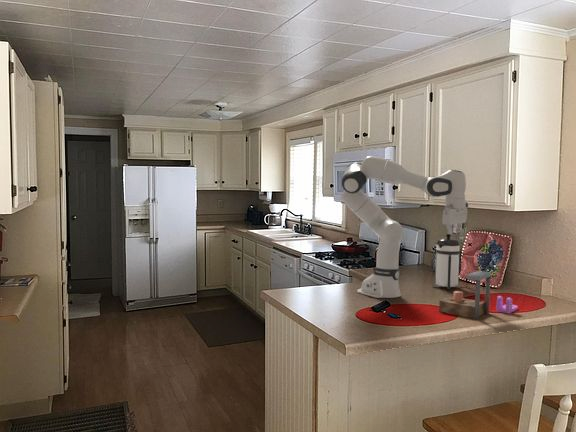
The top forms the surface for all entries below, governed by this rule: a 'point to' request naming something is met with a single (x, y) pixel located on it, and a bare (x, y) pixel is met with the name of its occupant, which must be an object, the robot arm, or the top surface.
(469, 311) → the socket block
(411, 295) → the top surface
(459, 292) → the peg
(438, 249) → the coffee press
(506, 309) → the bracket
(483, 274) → the grey legged stand
